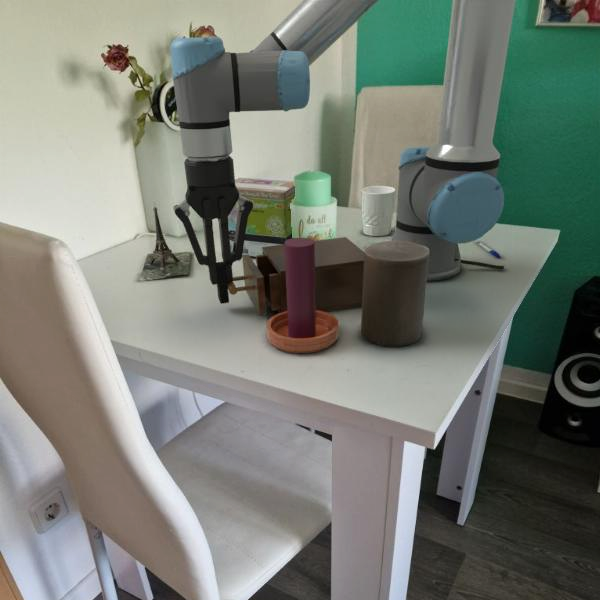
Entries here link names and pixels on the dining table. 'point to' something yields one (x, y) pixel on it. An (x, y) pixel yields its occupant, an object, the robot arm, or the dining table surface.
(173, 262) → the eiffel tower figurine
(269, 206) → the tea box
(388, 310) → the pillar candle
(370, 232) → the white cup
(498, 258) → the ballpoint pen
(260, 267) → the drawer
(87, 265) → the dining table surface
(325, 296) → the cabinet
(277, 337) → the saucer
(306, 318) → the dark purple cylinder
